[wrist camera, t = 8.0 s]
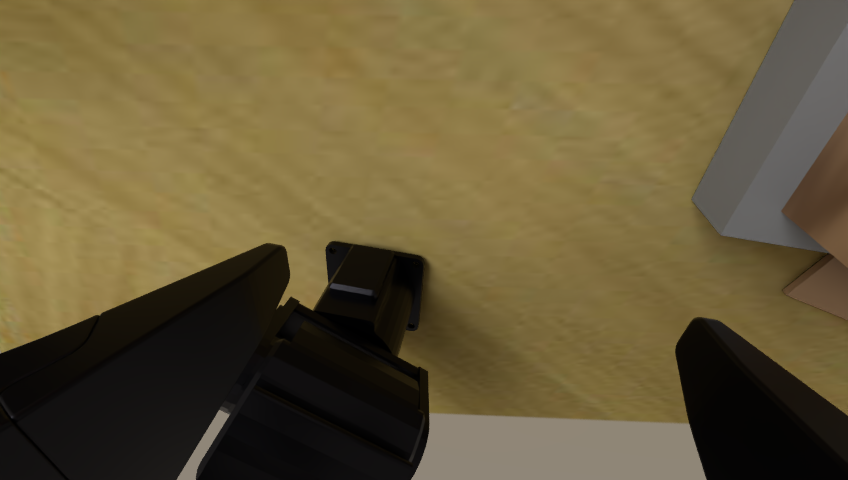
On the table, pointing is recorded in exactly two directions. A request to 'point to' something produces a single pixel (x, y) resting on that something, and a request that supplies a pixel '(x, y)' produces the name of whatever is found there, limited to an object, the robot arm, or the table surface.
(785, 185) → the base block
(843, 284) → the walnut swatch
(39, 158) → the table surface
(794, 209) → the walnut cube
